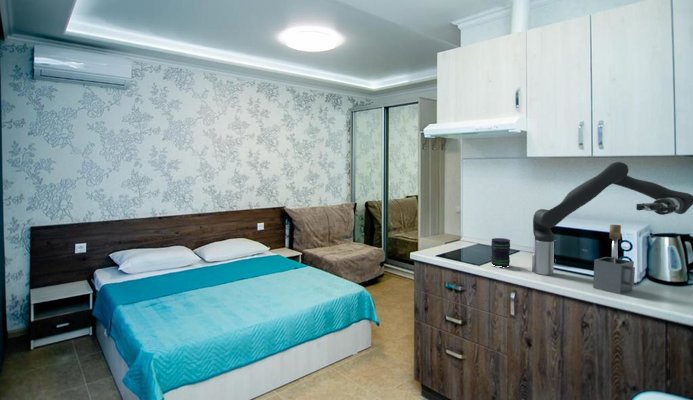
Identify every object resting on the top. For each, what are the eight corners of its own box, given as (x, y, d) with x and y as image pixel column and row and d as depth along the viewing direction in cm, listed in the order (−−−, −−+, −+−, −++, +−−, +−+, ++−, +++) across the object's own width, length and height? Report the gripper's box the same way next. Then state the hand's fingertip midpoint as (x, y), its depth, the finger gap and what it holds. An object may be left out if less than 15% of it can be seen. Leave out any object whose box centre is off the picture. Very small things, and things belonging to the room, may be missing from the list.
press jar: (593, 287, 179) (594, 259, 178) (605, 284, 184) (606, 256, 183) (626, 295, 167) (627, 265, 166) (638, 291, 173) (640, 262, 172)
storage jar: (497, 263, 228) (497, 237, 227) (513, 266, 220) (513, 239, 219) (487, 265, 222) (487, 239, 221) (503, 269, 214) (503, 241, 213)
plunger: (597, 272, 178) (599, 224, 176) (607, 269, 182) (609, 223, 181) (619, 277, 170) (621, 227, 169) (629, 274, 175) (631, 225, 173)
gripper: (648, 197, 188) (631, 199, 180) (685, 198, 176) (668, 201, 168) (648, 212, 189) (630, 215, 181) (684, 215, 176) (667, 218, 169)
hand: (648, 208), depth 174 cm, fingers open, 8 cm apart
